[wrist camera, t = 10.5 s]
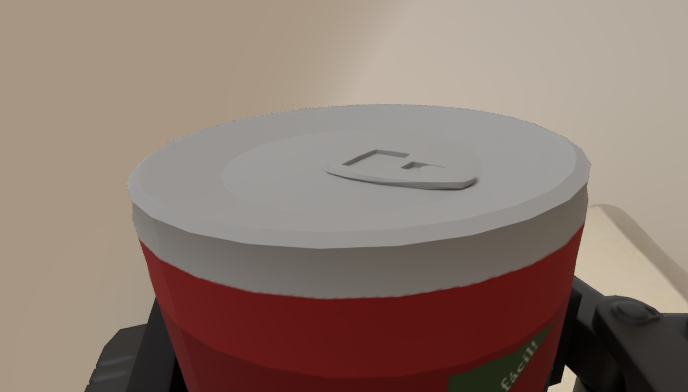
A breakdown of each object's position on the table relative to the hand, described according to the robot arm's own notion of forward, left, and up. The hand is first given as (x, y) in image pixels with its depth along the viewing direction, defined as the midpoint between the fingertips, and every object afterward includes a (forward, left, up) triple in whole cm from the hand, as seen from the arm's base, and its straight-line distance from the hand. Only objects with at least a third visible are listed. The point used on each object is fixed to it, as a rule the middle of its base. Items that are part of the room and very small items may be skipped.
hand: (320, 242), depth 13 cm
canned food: (-2, -4, -6) cm, 8 cm away
